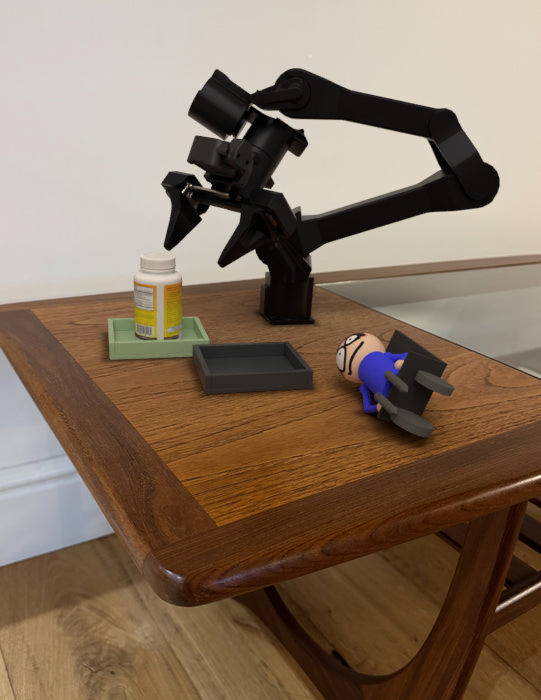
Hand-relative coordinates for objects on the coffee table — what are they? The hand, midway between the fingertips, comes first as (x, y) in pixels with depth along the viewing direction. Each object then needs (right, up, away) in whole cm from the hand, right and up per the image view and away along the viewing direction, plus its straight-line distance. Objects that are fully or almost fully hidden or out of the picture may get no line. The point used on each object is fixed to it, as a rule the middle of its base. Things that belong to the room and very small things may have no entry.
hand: (192, 257), depth 75 cm
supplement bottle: (-4, -10, -1) cm, 11 cm away
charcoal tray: (+7, -14, -8) cm, 18 cm away
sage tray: (-4, -11, -1) cm, 11 cm away
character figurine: (+21, -18, -15) cm, 31 cm away
